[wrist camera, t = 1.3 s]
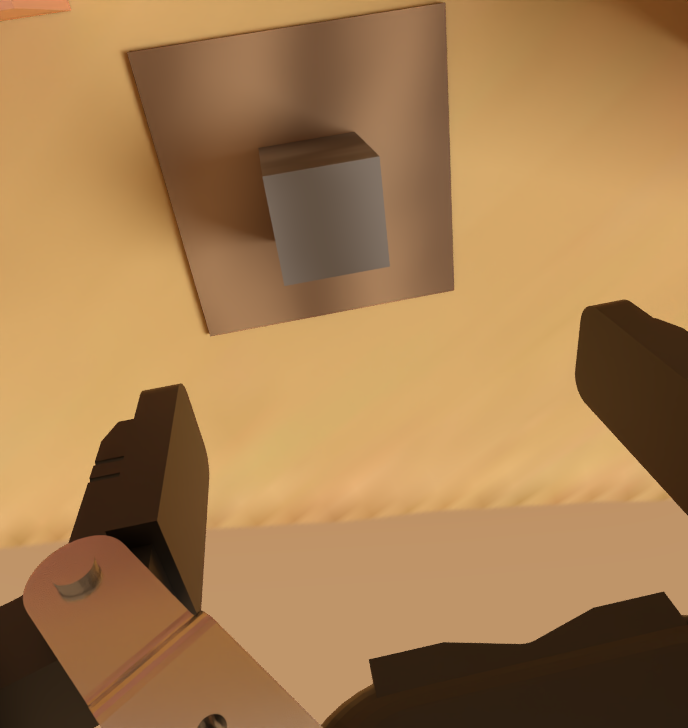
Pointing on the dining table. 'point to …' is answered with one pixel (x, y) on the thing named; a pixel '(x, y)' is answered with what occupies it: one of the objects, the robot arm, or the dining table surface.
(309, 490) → the dining table surface
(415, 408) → the dining table surface
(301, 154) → the lid
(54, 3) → the salmon pink square box
